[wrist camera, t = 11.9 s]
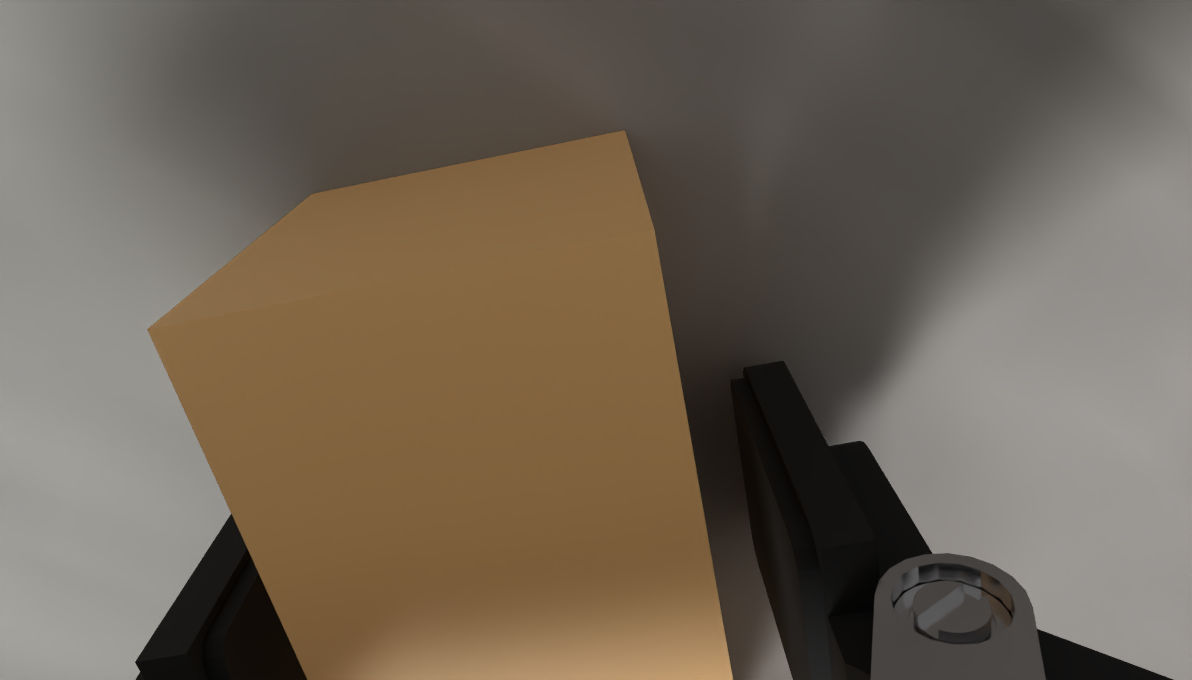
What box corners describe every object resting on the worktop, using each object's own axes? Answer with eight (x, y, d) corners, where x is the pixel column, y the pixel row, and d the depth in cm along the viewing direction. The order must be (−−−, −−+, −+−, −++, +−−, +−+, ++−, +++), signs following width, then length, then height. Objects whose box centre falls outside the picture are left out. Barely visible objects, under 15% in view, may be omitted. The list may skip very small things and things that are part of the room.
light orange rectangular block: (503, 740, 15) (473, 1043, 10) (315, 190, 11) (147, 329, 6) (728, 704, 14) (788, 1000, 10) (624, 127, 10) (654, 230, 6)
